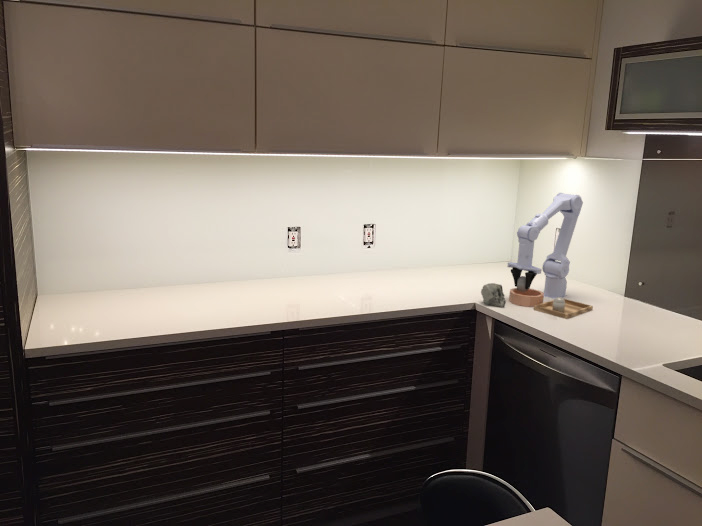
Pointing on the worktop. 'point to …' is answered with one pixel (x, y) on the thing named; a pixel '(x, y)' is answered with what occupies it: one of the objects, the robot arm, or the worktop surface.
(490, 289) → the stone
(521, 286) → the pebble
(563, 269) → the robot arm
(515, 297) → the bowl
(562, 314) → the tray
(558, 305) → the pebble
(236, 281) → the worktop surface
